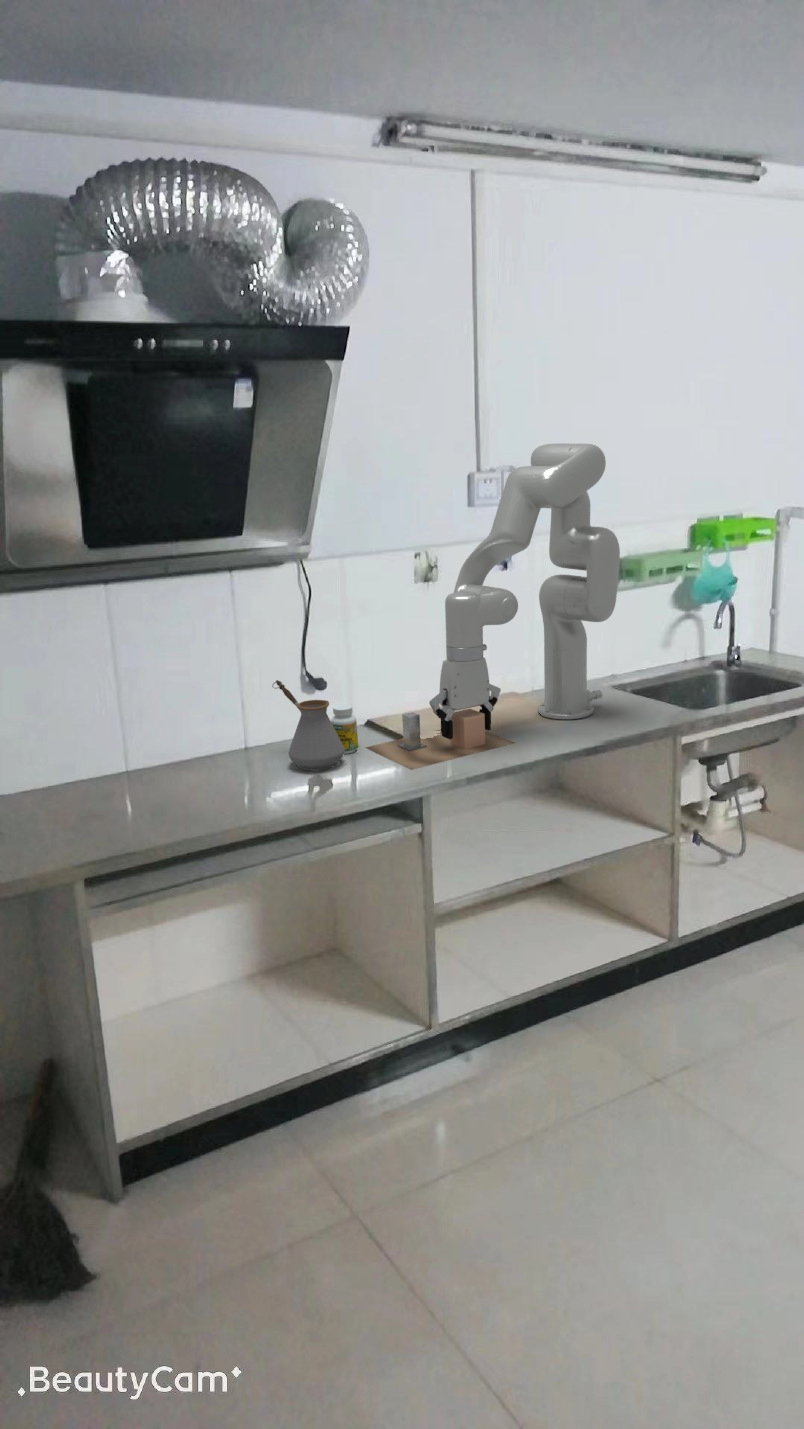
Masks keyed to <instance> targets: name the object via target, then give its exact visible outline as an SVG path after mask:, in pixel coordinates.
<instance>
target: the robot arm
mask: <svg viewBox="0 0 804 1429" xmlns="http://www.w3.org/2000/svg"><path fill="white" fill-rule="evenodd" d="M530 455H531V456H530V465H527V466H525V465H524V466H519V467H515V468H514V469H513V470H512V471H511V472H510V473H509V474H508V476H507V478H506V481H505V483H504V487H503V490H502V494H501V497H500V500H499V503H498V507H497V508H496V509H497V510H496V514H495V517H494V519H493V523H492V526H491V529H490V531H489V534H488V536H487V537H486V538H484V540H482V541H481V542H480V543H479V544H478V545H477V546H476V548H474V550H473V551H472V552H471V553H470V554H469V555H468V557H467V558H466V560H465V561H464V562H463V564H462V566H461V568H460V570H459V573H458V577H457V580H456V583H455V585H454V586H455V587H454V590H453V592H452V593H450V594H448V595H446V598H445V601H444V603H445V604H444V609H445V610H444V612H445V646H446V647H445V652H446V654H445V656H446V659H445V660H443V662H442V665H441V670H440V675H439V676H440V678H439V679H440V680H439V693H438V694H437V695H435V696H434V697H433V698H432V699H431V700H429V703H428V704H429V705H430V707H431V710H432V712H433V714H435V716H437V718H438V719H440V729H441V733H442V736H443V737H445V738H448V739H452V738H453V721H452V720H450V718H451V717H452V715H453V713H454V712H456V711H461V710H465V709H472V708H474V707H475V708H476V707H480V709H479V711H478V712H481V713H484V714H485V731H491V729H492V712H493V711H494V707H495V705H496V704H497V703H498V698H499V696H500V694H501V688H500V687H498V686H495V685H493V684H491V683H490V675H489V668H488V664H487V660H486V658H485V657H484V651H487V649H488V646H487V644H485V643H484V630H483V629H484V627H485V626H501V625H505V624H507V623H509V622H510V621H512V620H513V619H514V618H515V616H516V615H517V613H518V610H519V602H518V599H517V597H516V595H515V594H514V593H513V592H512V591H510V590H508V589H507V588H506V589H505V588H503V587H502V588H501V587H493V586H489V585H488V586H487V585H484V583H485V580H486V578H487V576H488V575H489V573H490V572H491V571H492V569H494V567H496V566H497V565H498V564H499V563H501V562H503V561H504V560H506V559H508V558H510V557H512V556H515V555H517V554H518V553H521V552H523V551H525V550H526V549H527V548H528V547H529V546H530V544H531V540H532V539H533V538H532V537H533V534H534V531H535V527H536V524H537V520H538V517H539V515H540V512H541V509H550V510H551V511H550V528H549V545H548V547H549V548H548V549H549V550H548V551H549V553H548V554H549V559H550V562H551V563H552V564H553V565H554V566H555V567H557V568H562V569H567V570H574V571H575V570H577V571H585V572H586V576H581V575H572V574H554V575H551V576H550V577H548V578H546V579H545V580H544V581H543V583H542V584H541V586H540V589H539V592H538V593H539V594H538V601H539V607H540V611H541V617H542V623H543V638H544V640H543V642H544V643H543V646H544V647H543V649H544V650H543V651H544V652H543V660H544V662H543V663H544V665H543V666H544V668H543V669H544V671H543V673H544V674H543V676H544V677H543V678H544V702H543V703H541V704H539V705H538V707H537V712H538V711H539V713H540V714H541V715H540V714H539V713H538V714H539V715H540V716H543V717H545V718H548V719H554V720H576V719H583V718H586V717H589V716H591V715H593V714H594V705H592V704H591V702H592V701H593V700H597V699H602V697H603V692H602V690H601V689H598V690H593V691H590V690H589V689H588V684H587V682H588V679H587V678H588V677H587V674H588V668H587V666H588V665H587V663H588V659H587V657H588V656H587V655H588V649H587V648H588V638H587V637H588V636H587V632H586V629H585V626H584V624H583V622H589V623H590V622H591V623H601V622H602V623H603V622H605V621H607V620H608V619H610V617H611V616H612V614H613V613H614V610H615V607H616V604H617V595H618V585H619V584H618V582H619V573H620V572H619V571H620V570H619V569H620V561H621V560H620V559H621V557H620V556H621V551H620V550H621V549H620V543H619V540H618V537H617V535H616V534H615V533H614V532H613V531H612V530H611V529H609V528H607V527H606V528H605V527H602V526H591V499H590V496H589V493H588V491H589V490H590V489H592V488H593V487H594V486H596V484H598V482H599V481H600V480H601V478H602V477H603V475H604V473H605V471H606V466H607V462H606V461H607V460H606V456H605V453H604V452H603V450H602V449H601V448H600V447H599V446H597V445H596V444H592V443H547V444H542V445H539V446H538V447H536V448H535V449H534V450H533V451H532V453H531V454H530ZM441 706H442V707H441Z"/></svg>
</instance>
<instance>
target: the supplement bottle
mask: <svg viewBox="0 0 804 1429" xmlns="http://www.w3.org/2000/svg"><path fill="white" fill-rule="evenodd" d="M332 714H333V717H332V718H331V719H330V721H331V723H332V725H333V727H334V729H335V731H336V733H337V735H338V737H339V738H340V740H341V742H342V744H343V746H344V748H345V751H344V754H343V755H350V754H353V753H356V752H357V751H358V748H359V738H358V736H359V735H358V723H357V717H356V716H355V715H353V706H352V705H350V704H338V705H335V706H334V707H333V708H332Z"/></svg>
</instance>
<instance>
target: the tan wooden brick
mask: <svg viewBox="0 0 804 1429" xmlns="http://www.w3.org/2000/svg"><path fill="white" fill-rule="evenodd" d="M450 720H452V721H453V738H452V739H450V741H451V744H454V745H456V746H458V747H461V748H463V749H468V748H472V747H476V746H480V745H484V744H485V731H486V730H485V714H484V713H481V712H479V711H477V710H475V709H472V708H466V709H461V710H456V711H455V712H454V713H453V715H452V717H451V718H450Z"/></svg>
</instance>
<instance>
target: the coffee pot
mask: <svg viewBox="0 0 804 1429" xmlns="http://www.w3.org/2000/svg"><path fill="white" fill-rule="evenodd" d="M275 684H276V686H277V687H274V685H275ZM271 687H272V688H273V689H275V690H276V689H279V690H282V693H283V695H284V696H286V698H287V699H289V701H290V702H291V703H292V704H293V705H294V706H295V707H296V708H297V709H298V710H299V712H300V718H299V721H298V723H297V726H296V728H295V732H294V734H293V738H292V740H291V743H290V746H289V749H288V757H289V759H290V760H291V761H292V762H293V763H294V764H295V765H297V766H298V767H299V768H300V769H302V770H306V771H324V770H328V769H330V768H333V767H335V766H336V765H337V763H338V762H339V761H341V759H343V756H344V755H345V754H344V751H345V748H344V746H343V744H342V742H341V740H340V738H339V737H338V735H337V733H336V731H335V729H334V727H333V725H332V723H331V719H330V718H329V715H328V713H327V711H328V707H329V706H330V702H329V701H328V700H325V699H324V700H323V699H311V700H310V699H309V700H304V701H301V702H299V701H297V699H296V698H295V696H294V695H293V694H292V693H291V691H290V690H289V689H288V688H286V685H285V684H283V682H282V681H280V680H275V682H273V683H272V685H271Z"/></svg>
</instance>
